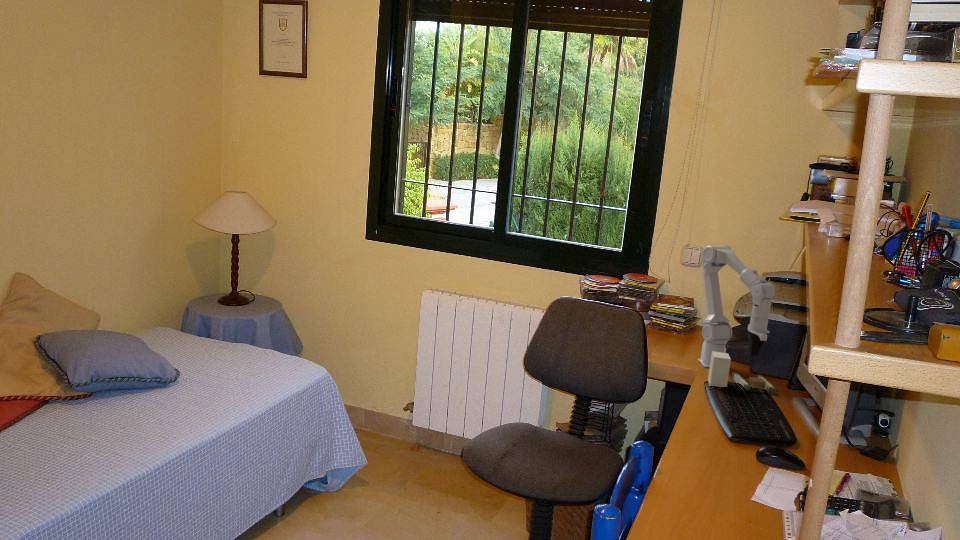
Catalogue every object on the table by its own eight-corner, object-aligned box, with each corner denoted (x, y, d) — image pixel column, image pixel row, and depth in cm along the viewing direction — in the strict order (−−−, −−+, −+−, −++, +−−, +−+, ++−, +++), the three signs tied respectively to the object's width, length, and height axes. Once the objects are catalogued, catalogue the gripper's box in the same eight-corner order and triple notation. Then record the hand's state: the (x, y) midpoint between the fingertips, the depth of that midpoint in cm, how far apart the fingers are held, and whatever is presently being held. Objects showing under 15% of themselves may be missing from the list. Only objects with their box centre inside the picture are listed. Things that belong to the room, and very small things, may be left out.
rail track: (731, 377, 280) (732, 372, 279) (760, 380, 280) (760, 375, 279) (745, 391, 265) (746, 386, 265) (775, 394, 265) (776, 388, 265)
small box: (726, 389, 265) (731, 359, 264) (709, 387, 266) (713, 356, 265) (724, 382, 273) (728, 353, 271) (707, 380, 274) (712, 350, 272)
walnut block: (748, 387, 271) (749, 377, 270) (759, 388, 271) (761, 378, 271) (752, 391, 267) (753, 381, 266) (764, 392, 267) (765, 382, 267)
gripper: (778, 323, 266) (772, 362, 269) (764, 313, 281) (758, 350, 283) (757, 321, 266) (751, 360, 269) (744, 311, 281) (738, 348, 283)
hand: (753, 355), depth 276 cm, fingers closed
